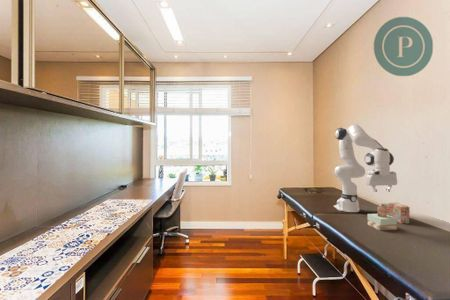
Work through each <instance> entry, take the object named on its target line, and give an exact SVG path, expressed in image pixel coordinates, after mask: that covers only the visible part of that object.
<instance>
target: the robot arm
mask: <svg viewBox="0 0 450 300" xmlns="http://www.w3.org/2000/svg"><path fill="white" fill-rule="evenodd" d="M334 137H335V139H337V140H338V150H339V151H338V152H339V156H340V160H341V161H343V162H344V163H345V164H343V165H338V166H335V168H334V171H333V172H334V175H335V177H337V178H338V179H339V180H340V182H341V187H342V189H341V190H342V193H340V196H341V197H339V198H338V199H337V201H336V204H335V205H333V208H335V209H336V210H338V211H340V212H348V213H358V212H360V211H361V208H360V205H359V200H358V194H357V193H358V185H356V183H354V182H353V181H352V179H358V178H362V177H364V176H365V174H366V173H367V175H366V181H365V182H366V185H367V186H370V187H371V188H372V191H373V192H374V193H377V192H378V189H376V187H377V186H378V187H379V186H387V188H386V192H387V193H388V192H391V189H392V187H393V186H397V185H398V177H397V172H396V171H390V170H391V169H390V166H392V164H393V163H394V160H395V159H394V156H393V153H391V152H390V151H389V149H388V148H385V147H383V145H382V144H380V142H378V140H376V139H375V138H373V137H371V136H370V135H369V134H368V133H367V132H366V131H365V130H364V129H363V127H361V126H360V125H359V124H352V125H350V126H348V127H347V126H345V127H339V128H336V129H335V132H334ZM353 143H354V144H355V145H356V146H359V147H364V148H369V149H372V150H373V151H371V152H367V153H366V155H365V156H364V162H365V164H367V166H370V167H373V166H374V168H372V169H370V170H367V172H366V168H365V167H364V166H363V165H361V164H360V163H359V162H358V160H357V159H356V155H355V151H354V145H353Z"/></svg>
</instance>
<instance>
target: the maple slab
mask: <svg viewBox="0 0 450 300" xmlns="http://www.w3.org/2000/svg"><path fill="white" fill-rule="evenodd" d="M367 225H368V226H370V227H371V228H374V229H376V230H378V231H397V230H398V223H397V224H393V225H379V224H377V223H374V222H372V221H369V220H367Z"/></svg>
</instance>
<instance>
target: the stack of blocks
mask: <svg viewBox="0 0 450 300" xmlns="http://www.w3.org/2000/svg"><path fill="white" fill-rule="evenodd" d="M381 207H386V208H387V215H389V216H392V217H395V218H397V223H398V222H399V223H398V224H403V223H405V224H410V208H411V207H410V206H408V205H405V204H402V203H399V202H388V203H381Z"/></svg>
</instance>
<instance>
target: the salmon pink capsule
mask: <svg viewBox="0 0 450 300" xmlns="http://www.w3.org/2000/svg"><path fill="white" fill-rule="evenodd" d="M377 214H378V216H379V217H387V208H386V207H382V206H377Z"/></svg>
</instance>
